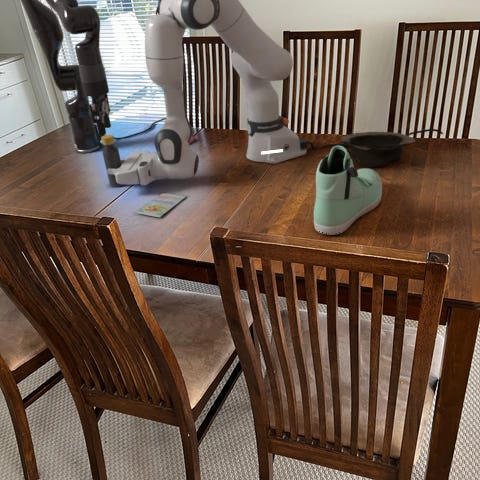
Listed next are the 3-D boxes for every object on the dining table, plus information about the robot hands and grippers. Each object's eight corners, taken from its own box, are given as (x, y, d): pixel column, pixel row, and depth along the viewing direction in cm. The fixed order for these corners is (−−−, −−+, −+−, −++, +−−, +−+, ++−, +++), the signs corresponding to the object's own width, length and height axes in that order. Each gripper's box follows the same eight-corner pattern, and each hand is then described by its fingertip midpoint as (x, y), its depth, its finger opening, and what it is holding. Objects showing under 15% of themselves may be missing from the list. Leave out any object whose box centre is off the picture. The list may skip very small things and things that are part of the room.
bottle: (126, 185, 164) (116, 138, 155) (110, 188, 163) (99, 141, 154) (124, 179, 168) (114, 134, 160) (109, 182, 167) (98, 136, 159)
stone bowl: (372, 178, 154) (373, 150, 150) (326, 159, 175) (325, 135, 170) (429, 159, 163) (431, 132, 159) (379, 144, 183) (379, 120, 179)
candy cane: (162, 149, 191) (161, 146, 190) (186, 137, 201) (185, 134, 201) (173, 152, 188) (172, 148, 187) (197, 139, 198) (197, 136, 197)
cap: (114, 143, 157) (113, 137, 156) (103, 145, 156) (101, 139, 155) (114, 140, 160) (112, 133, 159) (102, 142, 159) (100, 135, 158)
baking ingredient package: (135, 211, 145) (163, 192, 156) (135, 213, 145) (163, 193, 156) (159, 216, 141) (186, 195, 153) (159, 217, 141) (186, 197, 153)
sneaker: (389, 187, 148) (396, 123, 138) (356, 242, 123) (361, 168, 112) (346, 181, 154) (350, 119, 144) (306, 232, 129) (307, 161, 118)
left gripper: (87, 74, 153) (99, 125, 162) (75, 84, 141) (88, 139, 150) (111, 72, 153) (121, 123, 162) (100, 82, 141) (112, 137, 149)
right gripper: (157, 146, 168) (119, 147, 170) (140, 169, 151) (98, 170, 152) (160, 163, 171) (122, 163, 173) (144, 187, 154) (103, 188, 156)
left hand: (105, 130), depth 156 cm, fingers open, 6 cm apart
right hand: (111, 167), depth 162 cm, fingers closed on bottle, 5 cm apart
